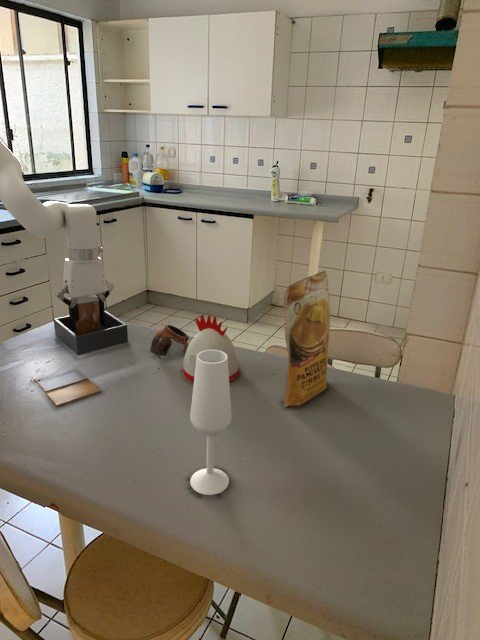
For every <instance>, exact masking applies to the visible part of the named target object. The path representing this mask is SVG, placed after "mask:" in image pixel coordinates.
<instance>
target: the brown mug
mask: <svg viewBox="0 0 480 640" xmlns="http://www.w3.org/2000/svg"><path fill="white" fill-rule="evenodd" d="M75 307H77V313H78V321H76V322H75V327H76V333H77V334H79V335H84V334H88V333H92V332H96V331H100V330H101V324H100V306H99V299H98V298H97V296H93V295H90V296H85V297H79V298H78V299H77V302H76V304H75Z"/></svg>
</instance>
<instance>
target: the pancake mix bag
mask: <svg viewBox="0 0 480 640" xmlns="http://www.w3.org/2000/svg"><path fill="white" fill-rule="evenodd" d="M330 303H331V302H330V293H329V281H328V273H326V270H322V271H319V272H317V273H315V274H313V275H310V276H307V277H304V278H302V279H300V280H297V281H296V282H293V283H292V284H290V285H289V286H288V287H287V288H286V289H285V292H284V299H283V308H284V309H283V310H284V317H285V318H284V319H285V326H284V338H285V345H286V349H287V367H286V376H285V377H286V378H285V387H284V393H283V399H282V402H283V406H284V408H287V407H299V406H302V405H304V404H305V403H307V402H309V401H310V400H312V399H313V398H315V397H316V396H317V395H319V394H321V393H323V392H324V391H326V389H327V388H328V379H327V378H328V377H327V375H328V374H327V373H328V372H327V371H328V361H329V345H330V333H331V332H330V330H331V305H330Z"/></svg>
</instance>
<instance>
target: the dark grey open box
mask: <svg viewBox="0 0 480 640" xmlns="http://www.w3.org/2000/svg"><path fill="white" fill-rule="evenodd" d="M100 324H101V330H100V331H96V332H92V333H88V334H84V335H79V334H77V333H76V327H75V321H74V320H73V319H71V318H70V316H69V315H66V316H61V317H55V318H53V326H54V327H53V328H54V335H55V337H57V338H58V339H59V341H61V342H62V343H63V344H64V345H66V347H68V348H69V349H70V350H71V351H72V352H73V353H75V354H76V355H77V356H80V355H85V354H87V353H88V354H89V353H92V352H95V351H99V350H102V349H105V348H109V347H110V348H111V347H114V346H117V345H120V344H126V343H128V342H129V335H128V334H129V333H128V325H127V323H125V322H124V321H122V320H120V319H119V318H117V317H116V316H114V315H113V314H112V313H110V312H108V311H107V310H105V311H104V316H100Z"/></svg>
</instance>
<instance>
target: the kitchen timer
mask: <svg viewBox="0 0 480 640" xmlns="http://www.w3.org/2000/svg"><path fill="white" fill-rule="evenodd" d="M211 318H212V317H211V315H210V314H208V316H207V319H206V320H205V316H204V314H201V315H200V320H199V318H198V317H196V318H195V319H194V321H195V323H196V327H197V328H198V332H197V333H196V334H195V335H194V336H193V337H192V338H191V339H189V341H188V342H189V344H188V345H187V346H188V347H187V350H186V352H185V353H184V358H183V362H182V374H183V376H184V377H185V379H186V380H187V381H189V382H191V383H194V377H195V368H196V359H197V354H198V353H200V352H202V351H205V350H219V351H222V352H224V353H226V354H227V357H228V372H229V383H231V382H232V381H234V380H236V378H237V377H238V376H239V372H240V371H239V368H240V365H239V364H240V363H239V358H238V355H237V351H236V348H235V347H234V344H233V342H232V340H231V339H230V337H229V336H228V335H227V334H226V332H227V330H228V326H226V327H225V328H224V329H223V330H222V324H223V321H222V320H221V321H220V322H219V323H218V321H217V316H216V315H214V316H213V318H212V319H211Z"/></svg>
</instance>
